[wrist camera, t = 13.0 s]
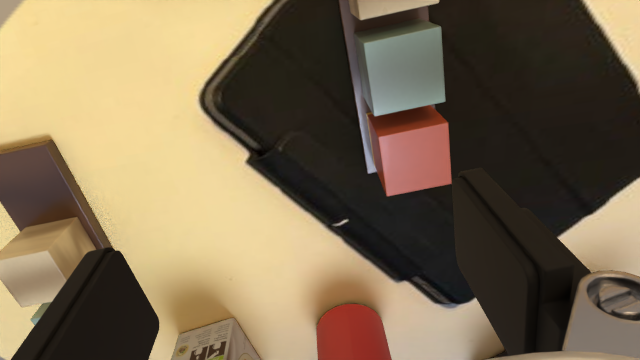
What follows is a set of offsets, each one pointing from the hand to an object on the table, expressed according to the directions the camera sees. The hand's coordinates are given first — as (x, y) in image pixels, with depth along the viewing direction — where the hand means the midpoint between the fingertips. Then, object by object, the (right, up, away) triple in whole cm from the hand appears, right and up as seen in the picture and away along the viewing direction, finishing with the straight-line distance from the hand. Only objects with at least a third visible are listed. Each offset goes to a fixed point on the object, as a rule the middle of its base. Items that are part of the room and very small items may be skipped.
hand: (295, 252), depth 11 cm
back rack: (-20, -3, +22) cm, 30 cm away
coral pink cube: (+7, +5, +19) cm, 20 cm away
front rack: (+5, +11, +17) cm, 21 cm away
